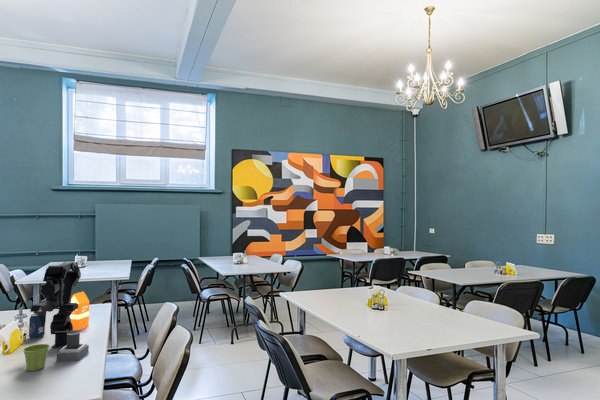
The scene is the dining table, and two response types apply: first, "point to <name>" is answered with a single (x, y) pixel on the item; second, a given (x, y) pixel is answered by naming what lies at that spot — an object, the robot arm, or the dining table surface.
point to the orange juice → (80, 311)
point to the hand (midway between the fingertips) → (54, 325)
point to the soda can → (36, 327)
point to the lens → (73, 339)
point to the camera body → (72, 353)
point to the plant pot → (35, 356)
